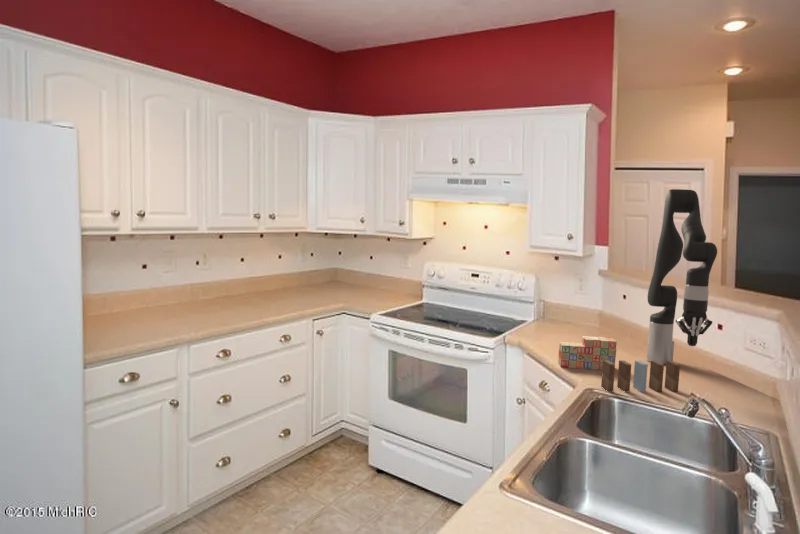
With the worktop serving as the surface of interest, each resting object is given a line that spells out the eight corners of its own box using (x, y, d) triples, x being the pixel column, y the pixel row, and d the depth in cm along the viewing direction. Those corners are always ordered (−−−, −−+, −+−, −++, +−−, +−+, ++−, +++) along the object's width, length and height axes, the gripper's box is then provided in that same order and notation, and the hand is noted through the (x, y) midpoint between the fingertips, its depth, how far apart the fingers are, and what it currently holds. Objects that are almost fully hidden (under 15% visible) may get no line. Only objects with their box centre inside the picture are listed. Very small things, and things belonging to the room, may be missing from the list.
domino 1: (622, 387, 193) (624, 360, 192) (629, 391, 188) (631, 364, 187) (617, 387, 193) (619, 360, 192) (623, 391, 188) (626, 364, 187)
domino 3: (654, 387, 194) (656, 360, 193) (661, 392, 189) (664, 364, 188) (648, 387, 194) (650, 360, 193) (656, 392, 189) (658, 364, 188)
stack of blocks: (560, 367, 217) (562, 337, 215) (557, 363, 223) (559, 334, 222) (614, 370, 214) (617, 341, 213) (610, 366, 220) (612, 337, 219)
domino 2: (638, 387, 193) (640, 360, 192) (645, 392, 188) (647, 364, 187) (632, 387, 193) (634, 360, 192) (640, 392, 188) (642, 364, 187)
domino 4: (669, 387, 194) (671, 360, 193) (677, 392, 189) (680, 364, 188) (664, 387, 194) (666, 360, 193) (672, 392, 189) (674, 364, 188)
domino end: (606, 387, 192) (608, 360, 191) (613, 391, 187) (615, 364, 186) (601, 387, 192) (603, 360, 191) (607, 391, 187) (609, 364, 186)
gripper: (684, 299, 185) (680, 348, 186) (720, 299, 186) (716, 348, 187) (671, 296, 192) (668, 342, 194) (706, 296, 193) (702, 343, 195)
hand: (691, 345), depth 191 cm, fingers closed
